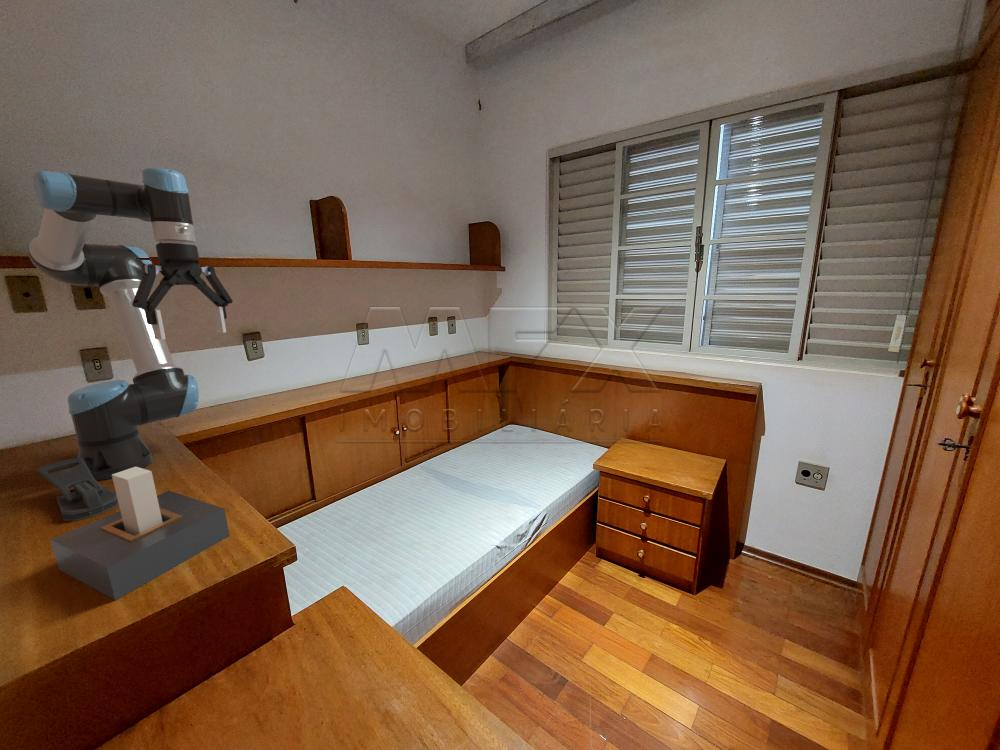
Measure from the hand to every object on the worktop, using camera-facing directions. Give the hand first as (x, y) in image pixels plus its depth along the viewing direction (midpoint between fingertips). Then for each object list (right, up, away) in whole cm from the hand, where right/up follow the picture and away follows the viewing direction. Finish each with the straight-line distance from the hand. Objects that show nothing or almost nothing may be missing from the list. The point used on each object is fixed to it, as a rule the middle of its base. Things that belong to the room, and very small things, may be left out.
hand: (192, 335), depth 96 cm
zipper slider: (-24, -39, -3) cm, 46 cm away
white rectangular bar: (+9, -43, -22) cm, 49 cm away
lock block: (+9, -43, -22) cm, 49 cm away
